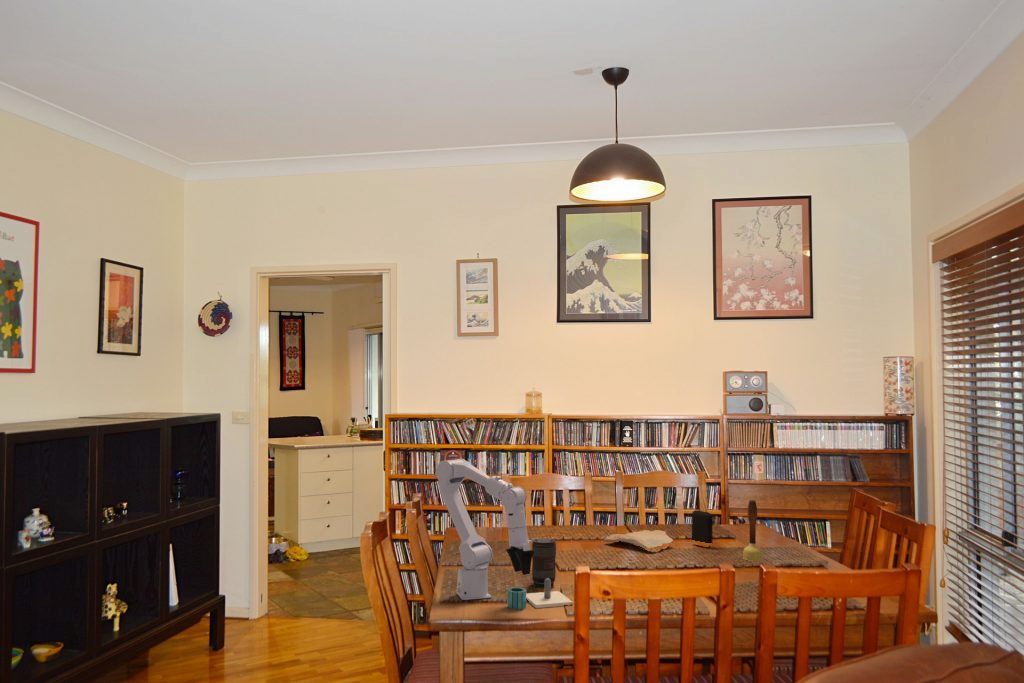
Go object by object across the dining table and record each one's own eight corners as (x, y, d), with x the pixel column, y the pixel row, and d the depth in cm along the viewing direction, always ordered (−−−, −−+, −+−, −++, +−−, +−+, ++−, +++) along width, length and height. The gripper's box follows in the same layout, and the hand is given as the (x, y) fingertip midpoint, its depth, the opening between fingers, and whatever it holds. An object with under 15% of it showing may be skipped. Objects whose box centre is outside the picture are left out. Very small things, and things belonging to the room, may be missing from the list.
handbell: (728, 565, 280) (728, 498, 282) (755, 563, 285) (755, 497, 286) (749, 573, 269) (749, 503, 270) (777, 571, 273) (777, 502, 274)
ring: (510, 610, 222) (511, 593, 222) (505, 604, 227) (505, 587, 227) (528, 608, 223) (528, 591, 224) (522, 603, 229) (522, 586, 229)
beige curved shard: (630, 540, 327) (601, 542, 313) (632, 523, 327) (603, 524, 314) (677, 552, 309) (648, 555, 295) (679, 534, 309) (650, 536, 296)
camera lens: (554, 582, 253) (555, 537, 254) (556, 588, 245) (557, 542, 246) (530, 582, 253) (531, 537, 254) (532, 588, 245) (532, 542, 246)
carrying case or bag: (715, 548, 308) (715, 512, 309) (711, 549, 306) (711, 513, 307) (694, 544, 316) (694, 509, 317) (690, 545, 314) (690, 510, 315)
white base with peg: (535, 608, 224) (535, 584, 224) (522, 596, 235) (523, 574, 236) (572, 605, 228) (572, 581, 228) (558, 594, 239) (558, 572, 239)
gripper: (537, 527, 223) (542, 573, 221) (521, 523, 237) (526, 567, 235) (515, 530, 221) (520, 577, 219) (500, 527, 234) (505, 571, 232)
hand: (522, 572), depth 227 cm, fingers open, 7 cm apart
